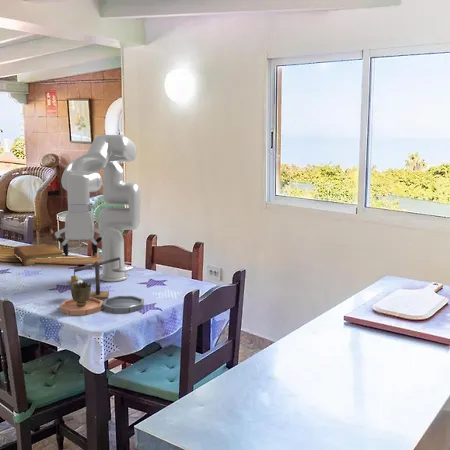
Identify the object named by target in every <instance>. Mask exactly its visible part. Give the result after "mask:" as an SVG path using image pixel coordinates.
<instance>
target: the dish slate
mask: <svg viewBox="0 0 450 450" xmlns="http://www.w3.org/2000/svg"><path fill="white" fill-rule="evenodd" d="M144 302H145V300H144V298H142V297H140V296H135V295H116V296H113V297H108V299H105V300H103V304H102V309H101V310H104V311H106V312H109V313H113V314H129V313H134V312H136V311H139V310H143V308H144V304H145V303H144Z"/></svg>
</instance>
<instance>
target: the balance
mask: <svg viewBox="0 0 450 450" xmlns="http://www.w3.org/2000/svg"><path fill="white" fill-rule="evenodd" d="M118 260H120V257H117V258H113V259H109V260H106V261H102V260H101V261H95V262H94V263H92V264H88V265H85V266H81V267H78V268H74V269H73V275H71V276H70V279H69V280H67V281H66V285H69V286H70V285H71V284H74V283H75V284H76V283H78V284H79V283H80V282H81V284H82V283H83V282H84V280H83V279H79V275H76V273H77V272H80V271H84V270H88V269H91V268H94V269H95V270H94V271H95V278H94V279H95V291H94V290H93V291H92V290H91V293H90V298H96V299H99V300H102V301H104V300H105V299H108V298H109V295H110V290H101V283H100V281H101V280H100V275H101V274H100V273H101V272H100V267H101V266H102V265H103V264H107V263H110V262H114V261H118ZM126 267H127V266H124V267H115V268H113V269H112V271H113V272H126V271H128V267H127V268H126ZM128 272H129V271H128Z"/></svg>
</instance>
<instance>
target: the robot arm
mask: <svg viewBox="0 0 450 450" xmlns="http://www.w3.org/2000/svg"><path fill="white" fill-rule="evenodd" d="M136 157H137V147H136V145H135V143H134V142H133V141H132V140H131V139H130V138H128V137H127V136H125V135H122V134H100V135H97V136H96V137H95V138H94V139H93V141H92V142H91V144H90V146H89V147H88V151H87V152H86V153H84V154H83V155H81V156H79V157H77V158H75V159H73V160H71V161H70V162H69V163H68V164H67V165H66V167H65V169H64V171H63V173H62V176H61V180H60V181H61V182H60V183H61V186H62V188H63V189H64V190H65V191H67V211H66V214H65V221H64V228H63V227H62V229H59V230H57V231H56V232H55V233H54V236H55V238H56V239H57V241H58V242H59V243H60V244H61V245H62V248H63V249H62V251H63V254H64V255H65V256H64V257H68V256H69V244H68V242H69V241H91V243H92V256H94V257H95V256H96V254H98V244H99V243H100V242H101V262H102V261H106V260H109V259H113V258H117V257H120V260H118V261H114V262H110V263H107V264H103V265H101V268H102V270H101V271H102V273H101V274H100V281H102V282H121V281H125V280H127V279H128V278H129V276H128V275H129V274H127V273H128V272H133V270H134V268H133V266H128V267H127V266H125V239H124V236H123V235H122V233H121V231H120V230H123V231H124V230H127V231H128V230H131V231H134V230H137V229H138V228H139V226H140V222H141V189H140V186H139V185H138V184H136V183H133V182H125V180H124V175H125V172H124V169H123V168H122V166H121V164H120V163H119V162H122V163H124V162H126V163H127V162H128V163H130V162H133V161H134V160H135V159H136ZM99 171H103V178H102V176H101V174H100V173H99ZM102 185H103V186H102ZM102 187H103V195H102V196H103V201H104V202H105V203H106V204H108V205H122V206H123V205H126V206H128V207H120V206H119V207H114V206H111V207H104V208H102V209H101V210H100V211H99V214H98V221H99V226H100V227H99V228H100V229H99V228H97V227H95V219H94V218H95V217H94V214H93V211H91V210H93V209H95V205H94V204H91V202H90V201H91V200H90V197H91V196H90V195H91V193H96V192H97V191H99V190H100V189H101V188H102ZM61 234H64V238H63V237H62V236H61ZM96 234H99V236H98V237H97V238H96V237H95V235H96ZM115 267H126V268H128V271H126V272H113V271H112V269H113V268H115Z"/></svg>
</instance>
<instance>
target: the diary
mask: <svg viewBox="0 0 450 450" xmlns="http://www.w3.org/2000/svg"><path fill="white" fill-rule="evenodd" d="M14 254H16V255H17V256H18V257H20V258H21V259H22V263H21V264H22V265H23V266H24V267H31V266H30V265H32V266H37V265H36V264H35V263H34V262H31V261H29V260H30V259H36V258H48V257H51V258H56V257H62V258H63V255H64V253H63V250H61V249H60V248H59V247H57V246H55V245H54V244H52V243H51V242H49V243H41V244H30V245H19V246H14V247H13V255H14Z"/></svg>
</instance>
